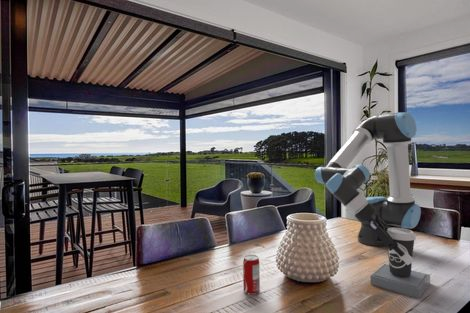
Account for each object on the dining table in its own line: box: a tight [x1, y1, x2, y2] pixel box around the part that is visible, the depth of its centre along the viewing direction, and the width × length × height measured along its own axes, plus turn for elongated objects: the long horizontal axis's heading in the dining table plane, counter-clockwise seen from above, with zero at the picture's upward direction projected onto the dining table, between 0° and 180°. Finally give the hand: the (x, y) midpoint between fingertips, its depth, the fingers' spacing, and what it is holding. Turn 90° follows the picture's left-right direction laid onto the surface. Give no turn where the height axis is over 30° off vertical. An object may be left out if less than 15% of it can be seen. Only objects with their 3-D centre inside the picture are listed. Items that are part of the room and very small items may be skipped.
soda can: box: [242, 254, 261, 295], centre depth 100 cm, size 6×6×12 cm
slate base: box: [370, 263, 431, 300], centre depth 104 cm, size 15×15×3 cm
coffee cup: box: [387, 227, 417, 277], centre depth 104 cm, size 10×10×15 cm
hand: (410, 257), depth 102 cm, fingers closed on coffee cup, 9 cm apart
